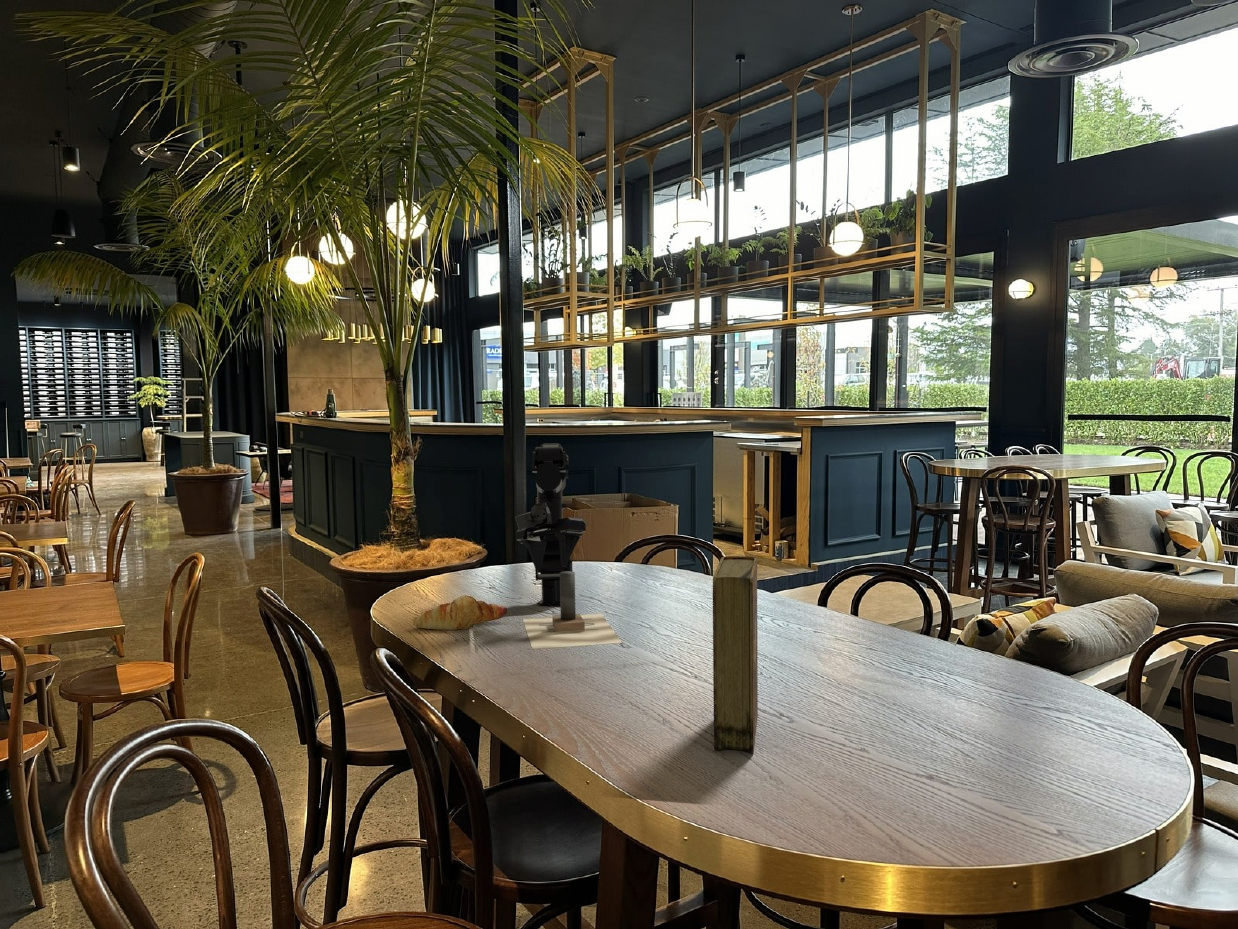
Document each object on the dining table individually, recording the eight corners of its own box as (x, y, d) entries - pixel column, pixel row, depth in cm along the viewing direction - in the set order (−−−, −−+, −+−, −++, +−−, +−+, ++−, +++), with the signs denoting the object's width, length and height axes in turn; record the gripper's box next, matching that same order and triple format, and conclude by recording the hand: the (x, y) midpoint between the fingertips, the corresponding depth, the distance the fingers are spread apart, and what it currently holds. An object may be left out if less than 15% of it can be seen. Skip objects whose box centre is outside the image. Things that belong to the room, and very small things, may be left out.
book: (723, 711, 133) (721, 555, 132) (758, 713, 132) (757, 556, 130) (713, 753, 117) (712, 577, 116) (753, 756, 116) (752, 578, 114)
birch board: (522, 623, 189) (522, 618, 189) (601, 617, 192) (601, 613, 192) (532, 654, 165) (532, 649, 165) (622, 647, 169) (622, 642, 169)
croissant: (415, 649, 182) (415, 621, 178) (408, 618, 190) (409, 590, 186) (510, 635, 190) (513, 608, 186) (500, 606, 198) (502, 580, 194)
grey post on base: (552, 624, 183) (551, 570, 182) (579, 622, 184) (578, 568, 183) (556, 633, 176) (555, 576, 175) (584, 631, 177) (583, 575, 177)
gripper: (496, 502, 193) (496, 571, 189) (547, 488, 180) (548, 561, 176) (535, 508, 200) (536, 573, 197) (586, 494, 187) (588, 564, 184)
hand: (550, 568), depth 188 cm, fingers open, 9 cm apart
